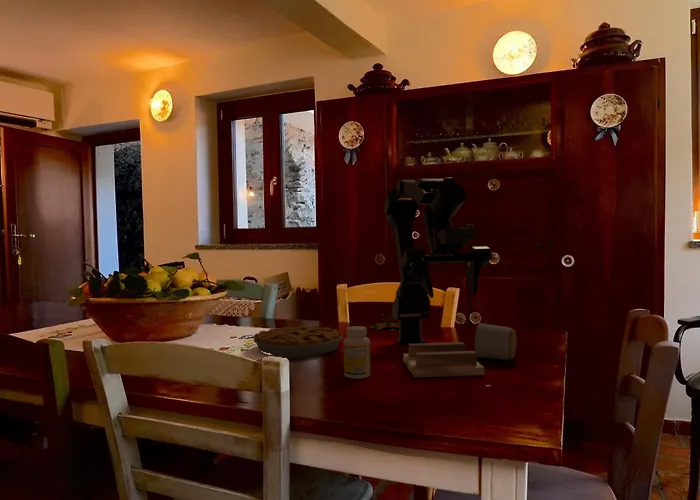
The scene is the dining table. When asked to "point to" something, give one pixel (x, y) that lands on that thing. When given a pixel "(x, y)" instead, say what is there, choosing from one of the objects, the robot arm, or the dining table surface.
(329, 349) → the pie
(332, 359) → the dining table surface
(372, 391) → the dining table surface
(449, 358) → the beech cradle
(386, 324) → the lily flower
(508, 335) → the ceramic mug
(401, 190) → the robot arm
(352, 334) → the supplement bottle
